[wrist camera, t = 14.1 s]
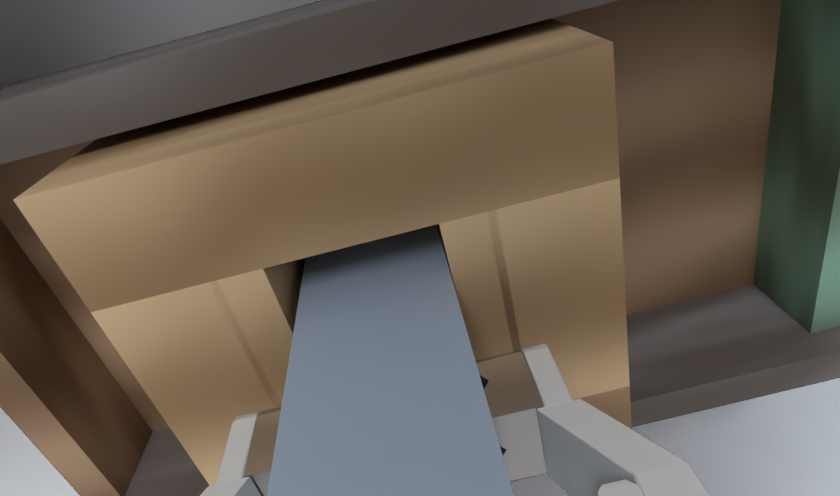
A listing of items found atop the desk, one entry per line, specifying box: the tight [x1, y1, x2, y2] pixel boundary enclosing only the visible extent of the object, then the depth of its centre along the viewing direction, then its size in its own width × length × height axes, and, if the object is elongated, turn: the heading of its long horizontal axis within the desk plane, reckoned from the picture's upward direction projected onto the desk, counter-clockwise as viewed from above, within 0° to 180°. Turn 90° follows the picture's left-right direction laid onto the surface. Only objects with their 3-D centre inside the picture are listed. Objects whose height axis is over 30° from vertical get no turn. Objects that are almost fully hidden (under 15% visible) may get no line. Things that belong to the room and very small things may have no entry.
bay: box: [0, 0, 840, 496], centre depth 16 cm, size 14×26×5 cm, turn 103°
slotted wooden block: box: [13, 18, 632, 486], centre depth 15 cm, size 11×11×6 cm
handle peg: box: [267, 225, 514, 496], centre depth 12 cm, size 4×4×10 cm
